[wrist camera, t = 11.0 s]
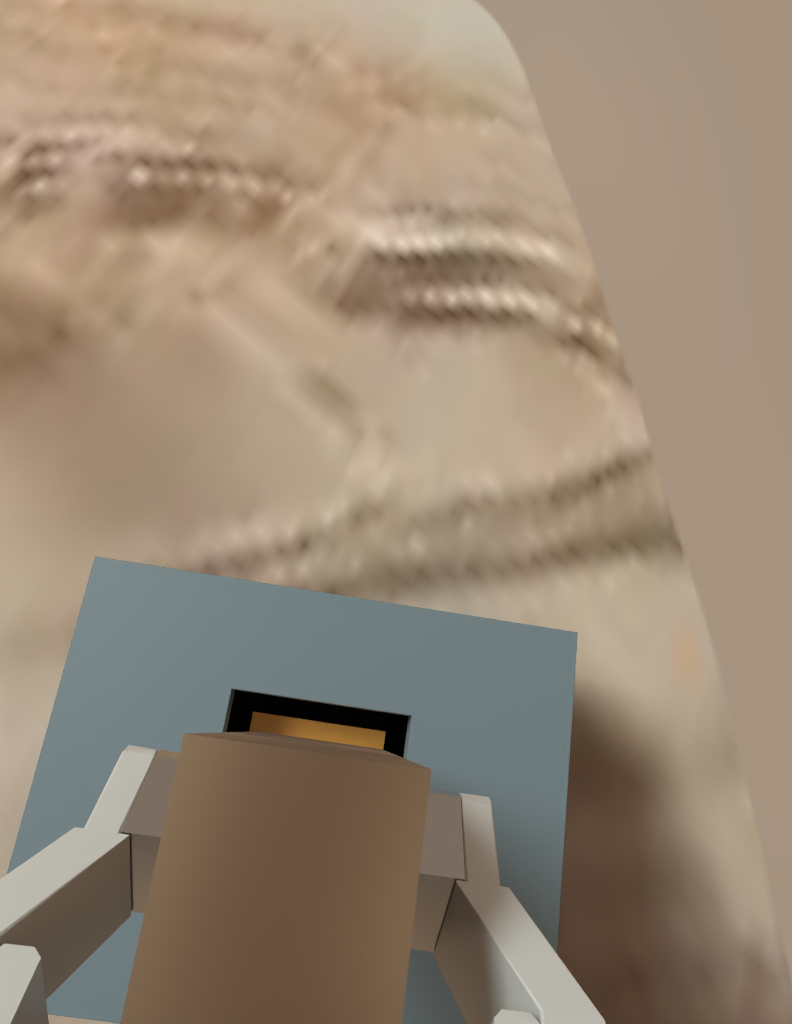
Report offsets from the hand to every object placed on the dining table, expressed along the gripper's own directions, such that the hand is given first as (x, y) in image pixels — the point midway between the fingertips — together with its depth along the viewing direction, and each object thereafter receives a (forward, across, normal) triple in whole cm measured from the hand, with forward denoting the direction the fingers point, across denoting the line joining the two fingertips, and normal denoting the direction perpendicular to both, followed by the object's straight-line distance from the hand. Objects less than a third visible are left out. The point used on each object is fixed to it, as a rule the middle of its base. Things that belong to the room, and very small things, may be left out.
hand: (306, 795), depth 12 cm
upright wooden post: (+3, 0, +4) cm, 5 cm away
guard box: (+10, 0, +11) cm, 14 cm away
